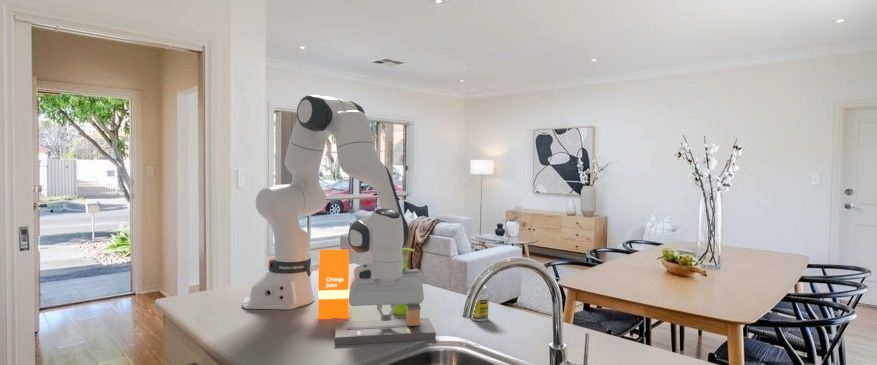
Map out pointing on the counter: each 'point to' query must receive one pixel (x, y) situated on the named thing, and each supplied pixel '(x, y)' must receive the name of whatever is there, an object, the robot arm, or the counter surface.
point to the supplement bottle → (481, 306)
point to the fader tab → (413, 314)
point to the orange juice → (333, 284)
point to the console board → (382, 331)
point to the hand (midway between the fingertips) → (386, 320)
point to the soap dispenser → (402, 307)
